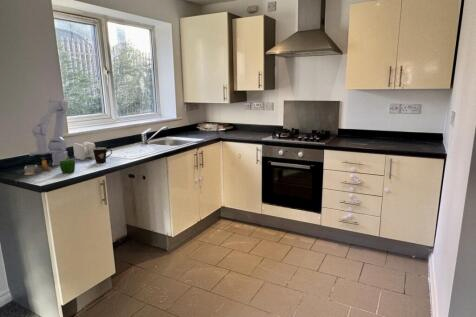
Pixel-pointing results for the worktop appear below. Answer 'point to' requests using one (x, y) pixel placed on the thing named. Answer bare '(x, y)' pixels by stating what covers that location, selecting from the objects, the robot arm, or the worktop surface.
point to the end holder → (30, 168)
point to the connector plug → (44, 162)
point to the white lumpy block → (83, 150)
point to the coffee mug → (100, 154)
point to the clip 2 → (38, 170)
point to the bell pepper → (67, 166)
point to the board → (39, 173)
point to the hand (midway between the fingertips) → (44, 165)
